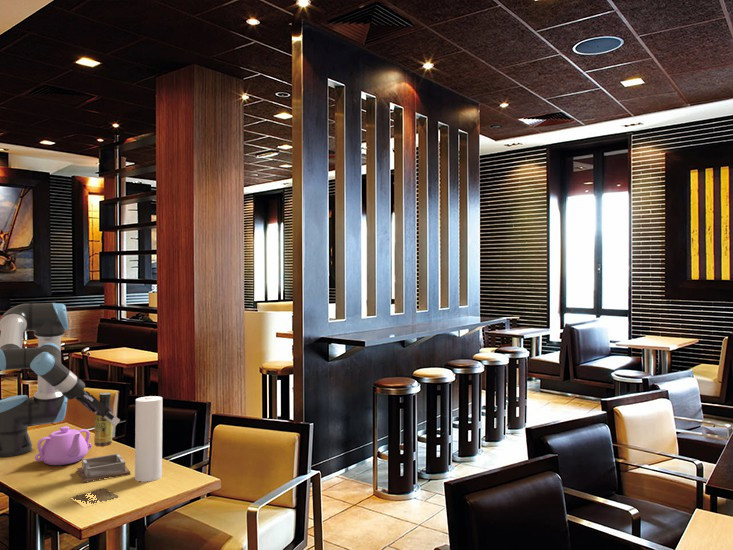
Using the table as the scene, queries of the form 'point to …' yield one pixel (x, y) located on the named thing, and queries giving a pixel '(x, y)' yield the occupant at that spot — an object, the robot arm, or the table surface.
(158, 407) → the cylinder container
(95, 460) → the grey square tray
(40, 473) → the table surface
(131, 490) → the table surface
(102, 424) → the sauce bottle
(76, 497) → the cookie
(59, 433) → the teapot
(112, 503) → the table surface
